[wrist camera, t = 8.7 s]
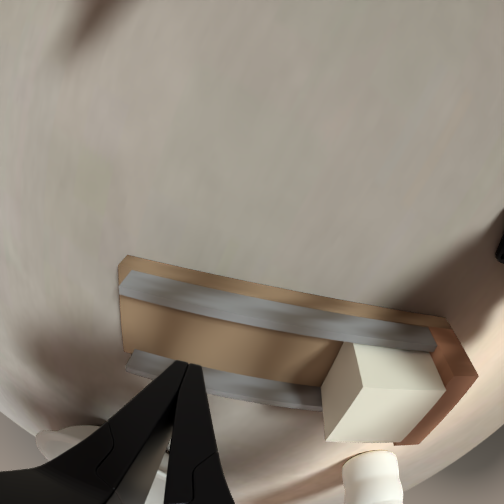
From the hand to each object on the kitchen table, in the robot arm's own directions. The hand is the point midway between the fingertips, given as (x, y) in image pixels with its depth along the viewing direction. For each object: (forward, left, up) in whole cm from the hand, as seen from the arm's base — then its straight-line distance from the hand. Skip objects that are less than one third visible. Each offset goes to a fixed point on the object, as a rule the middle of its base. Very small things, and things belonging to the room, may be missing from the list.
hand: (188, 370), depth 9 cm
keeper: (-11, +7, -9) cm, 16 cm away
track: (-5, +7, -11) cm, 14 cm away
